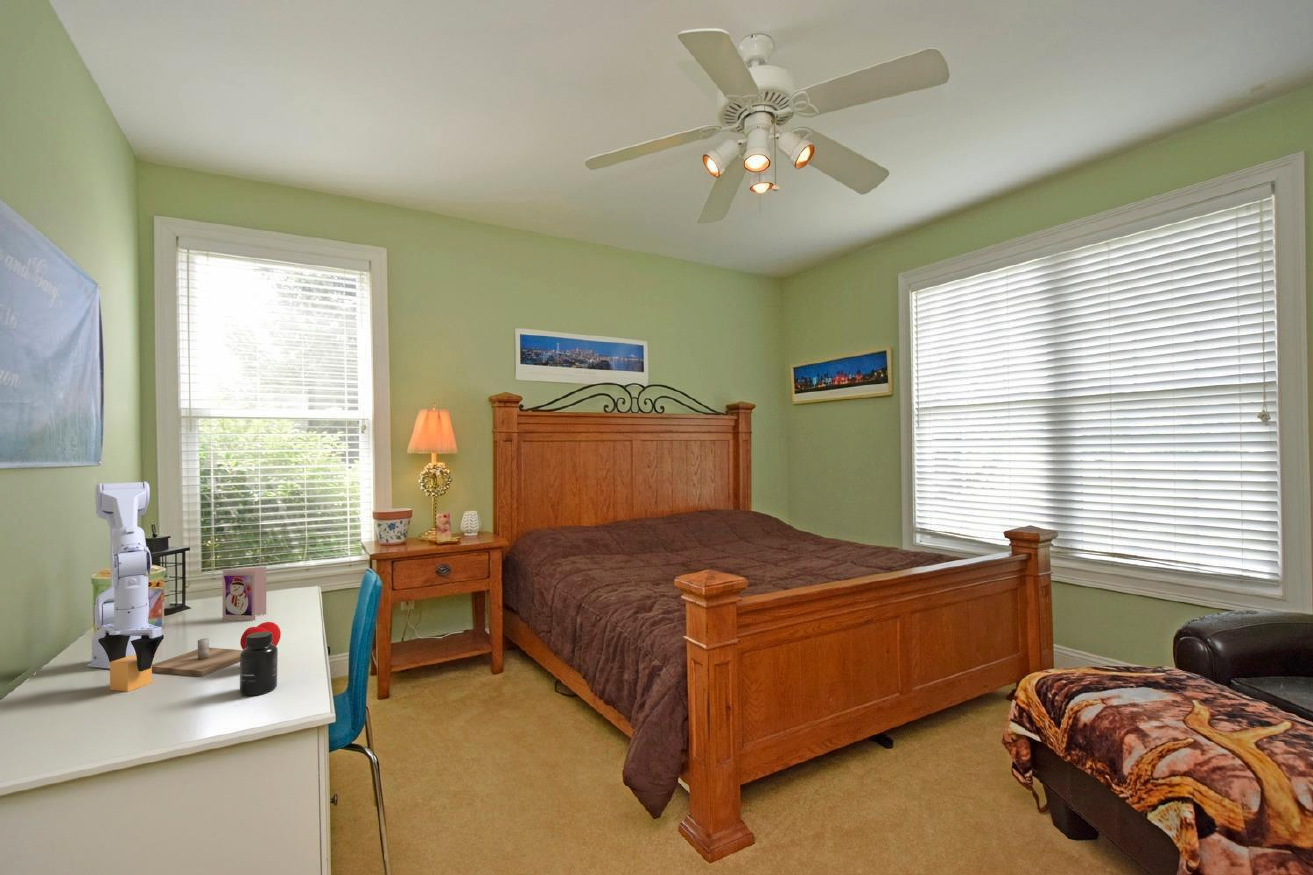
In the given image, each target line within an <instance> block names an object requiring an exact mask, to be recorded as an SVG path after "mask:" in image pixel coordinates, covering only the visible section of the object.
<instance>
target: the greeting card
mask: <svg viewBox="0 0 1313 875" xmlns="http://www.w3.org/2000/svg"><path fill="white" fill-rule="evenodd" d="M261 614H266V615H267V566H259V567H246V568H236V569H235V568H233V569H223V570H222V620H228V619H241V620H240V621H252V620H255V621H256V616H255V615H258V616H262V615H261Z"/></svg>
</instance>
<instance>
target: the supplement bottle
mask: <svg viewBox="0 0 1313 875" xmlns="http://www.w3.org/2000/svg"><path fill="white" fill-rule="evenodd" d="M272 638H273V634H272V632H257V633H252V634H249V635H248V636H246V646H247V647H246V648H245V649H244V650H243V649H242V650H243V651H242V652H241V654H240V662H239V694H240V695H242V696H245V697H257V696H261V695H265V694H268V693H270V692H272V691H274V690H276V688H277V686H278V664H279V663H278V662H279V661H278V660H279V659H278V658H279V657H278V654H279V651H278V647H277V646H275V645H274V644H271V643H272V642H273V639H272Z"/></svg>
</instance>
